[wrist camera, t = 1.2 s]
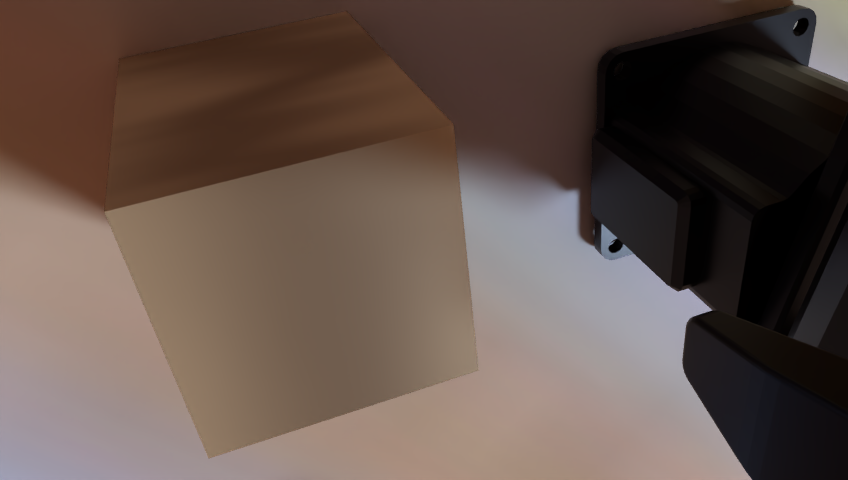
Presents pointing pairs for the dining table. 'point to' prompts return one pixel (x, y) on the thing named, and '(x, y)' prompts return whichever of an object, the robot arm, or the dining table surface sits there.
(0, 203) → the dining table surface
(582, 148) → the dining table surface
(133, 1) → the dining table surface
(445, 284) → the walnut block
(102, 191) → the dining table surface
